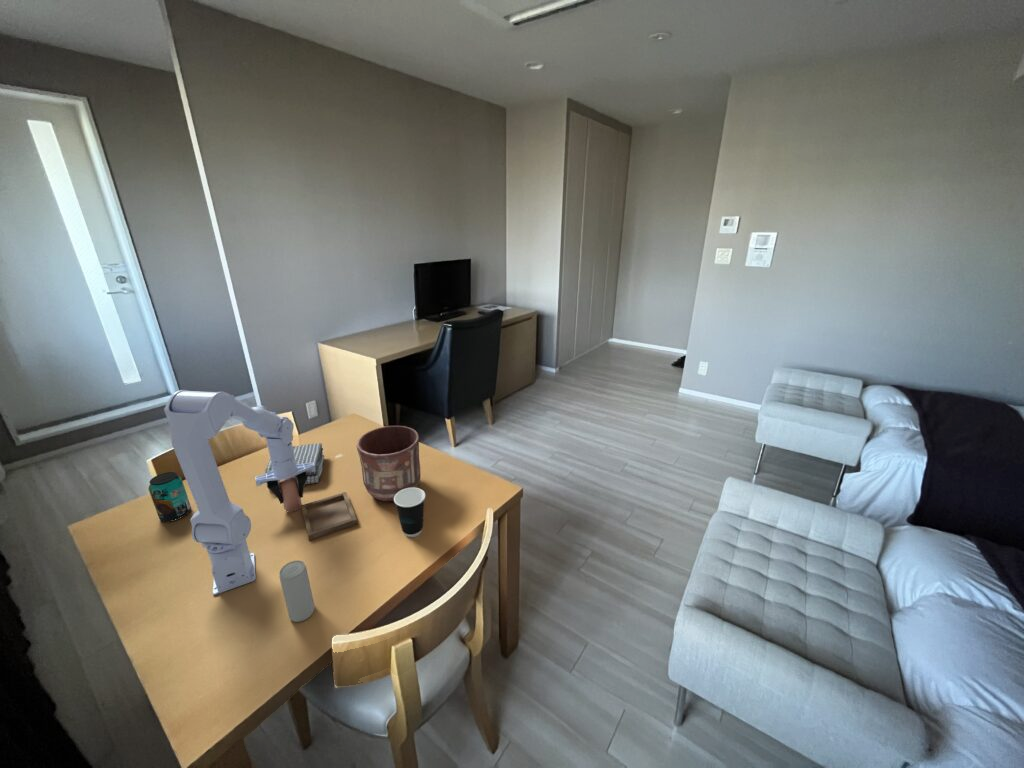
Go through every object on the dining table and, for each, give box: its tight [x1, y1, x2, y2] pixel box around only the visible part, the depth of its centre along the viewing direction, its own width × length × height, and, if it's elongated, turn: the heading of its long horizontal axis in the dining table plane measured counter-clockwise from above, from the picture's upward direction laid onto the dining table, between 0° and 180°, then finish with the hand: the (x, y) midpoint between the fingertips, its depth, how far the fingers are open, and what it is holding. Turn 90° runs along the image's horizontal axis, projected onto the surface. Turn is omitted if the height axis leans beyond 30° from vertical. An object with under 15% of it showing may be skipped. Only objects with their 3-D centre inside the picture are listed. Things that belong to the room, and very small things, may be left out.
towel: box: [264, 442, 325, 489], centre depth 132 cm, size 15×18×8 cm
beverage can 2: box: [278, 560, 316, 623], centre depth 83 cm, size 5×5×12 cm
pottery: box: [356, 425, 421, 503], centre depth 121 cm, size 18×18×18 cm
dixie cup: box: [393, 487, 426, 538], centre depth 106 cm, size 8×8×11 cm
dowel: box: [279, 476, 303, 513], centre depth 115 cm, size 4×4×9 cm
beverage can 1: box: [147, 471, 192, 522], centre depth 111 cm, size 7×7×12 cm
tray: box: [301, 491, 358, 542], centre depth 112 cm, size 14×12×2 cm
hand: (291, 498), depth 116 cm, fingers closed on dowel, 4 cm apart
